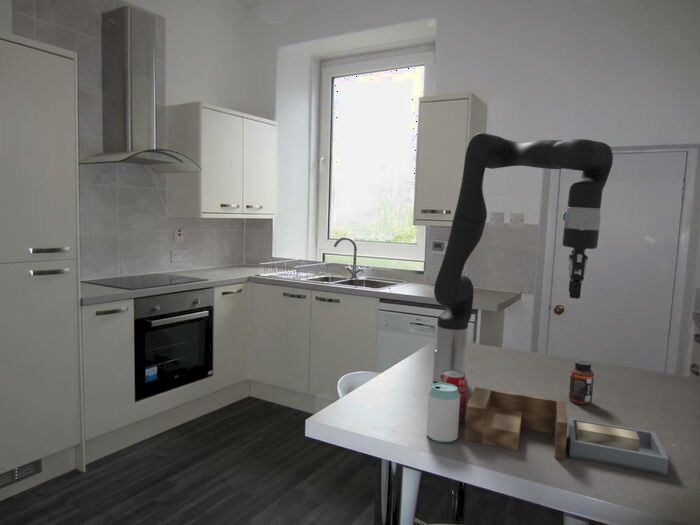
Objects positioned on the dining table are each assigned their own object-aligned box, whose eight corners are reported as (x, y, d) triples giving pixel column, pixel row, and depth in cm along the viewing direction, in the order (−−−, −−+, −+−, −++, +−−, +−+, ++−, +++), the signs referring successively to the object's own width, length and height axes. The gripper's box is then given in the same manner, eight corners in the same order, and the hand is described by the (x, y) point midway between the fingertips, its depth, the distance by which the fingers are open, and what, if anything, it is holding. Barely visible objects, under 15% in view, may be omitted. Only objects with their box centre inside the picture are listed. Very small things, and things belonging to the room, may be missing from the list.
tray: (569, 456, 106) (570, 441, 105) (567, 431, 119) (568, 417, 118) (667, 475, 99) (668, 459, 99) (653, 446, 112) (654, 432, 112)
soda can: (433, 414, 126) (435, 368, 125) (460, 414, 127) (462, 368, 126) (440, 425, 119) (443, 377, 118) (469, 425, 120) (472, 377, 119)
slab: (576, 446, 109) (578, 429, 109) (575, 438, 114) (576, 421, 113) (638, 457, 105) (639, 439, 105) (634, 448, 109) (636, 431, 109)
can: (442, 447, 108) (445, 394, 107) (420, 435, 114) (422, 384, 113) (464, 439, 112) (467, 388, 111) (441, 428, 118) (444, 379, 117)
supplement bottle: (594, 406, 136) (597, 366, 135) (571, 404, 137) (574, 364, 136) (588, 399, 142) (591, 360, 141) (566, 396, 143) (569, 358, 142)
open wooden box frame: (464, 439, 112) (466, 405, 111) (473, 417, 125) (475, 387, 124) (564, 459, 104) (567, 423, 104) (563, 433, 117) (565, 401, 116)
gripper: (563, 225, 123) (556, 289, 125) (564, 226, 110) (556, 297, 112) (597, 227, 120) (589, 293, 122) (601, 229, 107) (593, 302, 109)
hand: (573, 295), depth 117 cm, fingers open, 8 cm apart
